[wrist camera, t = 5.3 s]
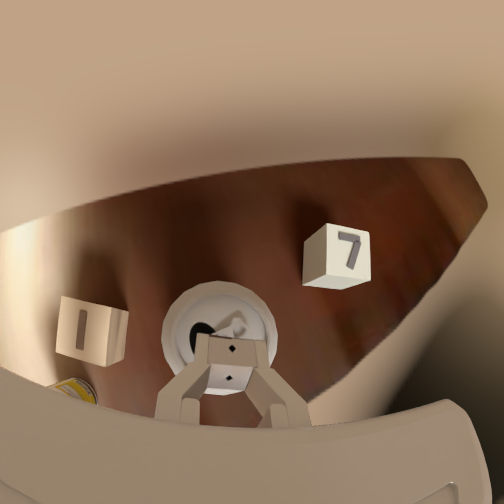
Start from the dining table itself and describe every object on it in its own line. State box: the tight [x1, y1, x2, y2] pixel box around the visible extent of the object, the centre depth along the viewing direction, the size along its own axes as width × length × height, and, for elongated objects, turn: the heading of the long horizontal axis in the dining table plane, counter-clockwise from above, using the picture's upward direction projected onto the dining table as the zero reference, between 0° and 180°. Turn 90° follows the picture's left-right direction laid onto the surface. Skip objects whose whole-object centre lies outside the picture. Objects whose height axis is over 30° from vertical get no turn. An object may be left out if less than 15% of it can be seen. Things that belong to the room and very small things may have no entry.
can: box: [161, 281, 278, 395], centre depth 21 cm, size 8×8×12 cm
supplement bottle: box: [47, 378, 98, 405], centre depth 17 cm, size 5×5×8 cm
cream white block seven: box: [302, 223, 371, 289], centre depth 28 cm, size 5×5×6 cm
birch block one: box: [56, 296, 129, 367], centre depth 21 cm, size 5×5×6 cm
